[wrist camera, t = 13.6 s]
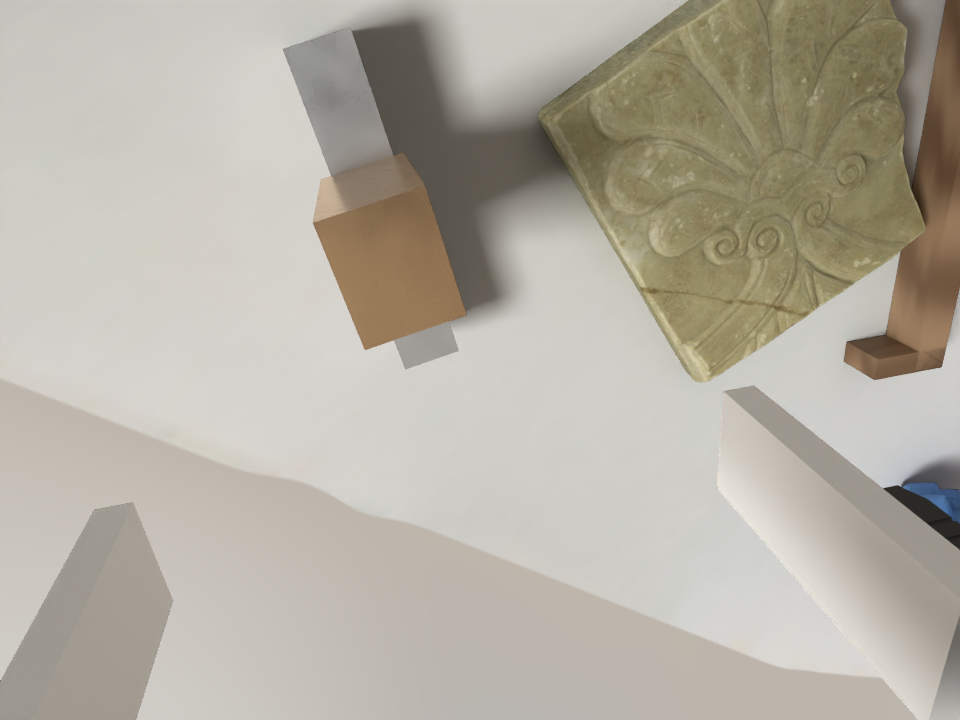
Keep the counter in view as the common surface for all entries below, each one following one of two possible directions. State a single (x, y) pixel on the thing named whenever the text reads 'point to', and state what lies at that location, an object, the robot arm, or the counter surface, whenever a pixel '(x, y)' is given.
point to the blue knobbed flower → (939, 497)
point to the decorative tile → (744, 164)
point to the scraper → (374, 210)
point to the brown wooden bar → (927, 234)
